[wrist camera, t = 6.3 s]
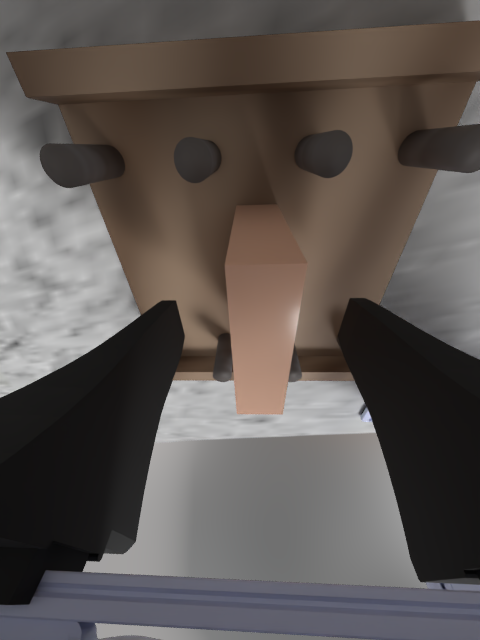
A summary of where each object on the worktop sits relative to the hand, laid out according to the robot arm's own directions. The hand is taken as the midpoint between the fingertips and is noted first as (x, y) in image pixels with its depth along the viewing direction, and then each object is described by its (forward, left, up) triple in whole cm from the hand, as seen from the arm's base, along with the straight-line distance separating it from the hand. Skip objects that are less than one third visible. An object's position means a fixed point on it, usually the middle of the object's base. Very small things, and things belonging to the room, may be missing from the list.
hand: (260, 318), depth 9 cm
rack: (0, 0, -6) cm, 6 cm away
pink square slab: (0, 0, -5) cm, 5 cm away
